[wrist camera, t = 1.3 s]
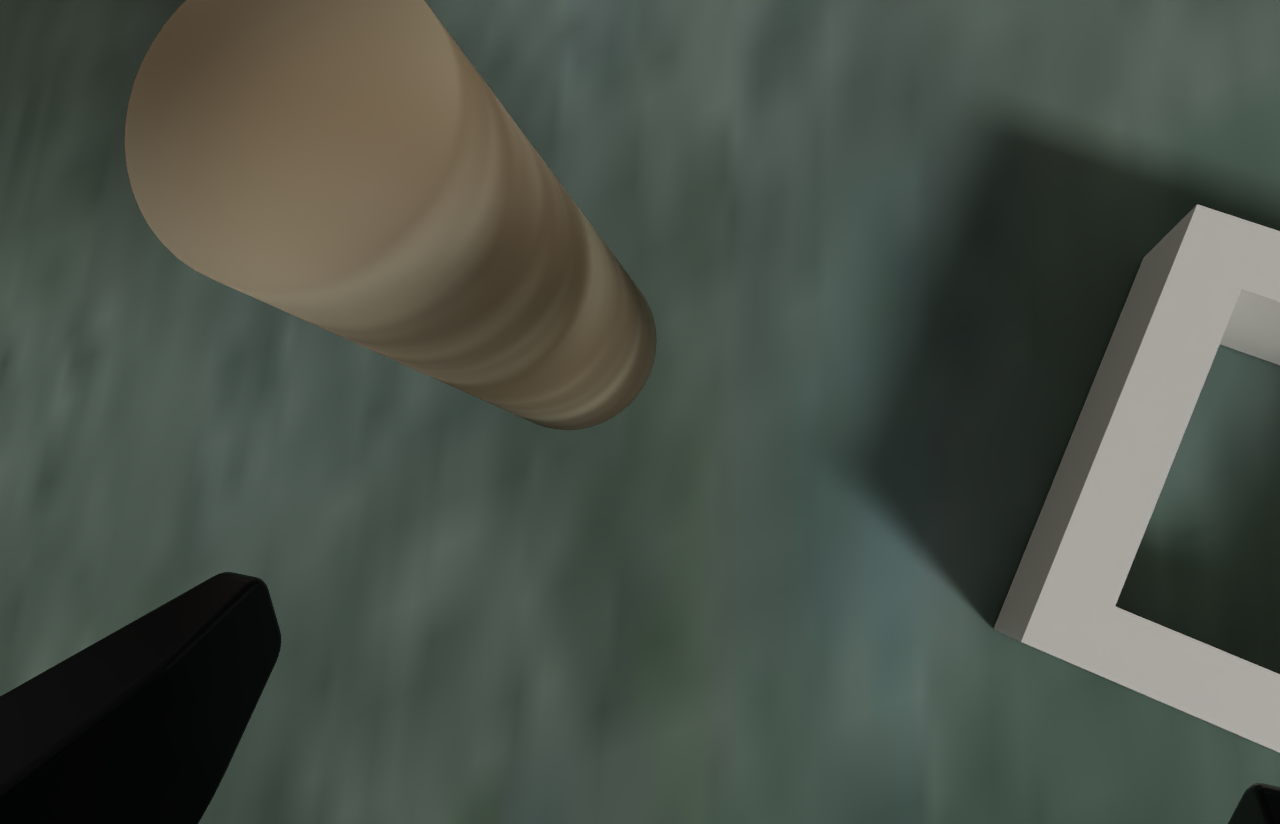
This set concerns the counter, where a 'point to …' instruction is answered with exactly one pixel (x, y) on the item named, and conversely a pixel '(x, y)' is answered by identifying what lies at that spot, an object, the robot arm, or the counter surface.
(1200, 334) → the socket
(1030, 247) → the counter surface
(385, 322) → the peg
